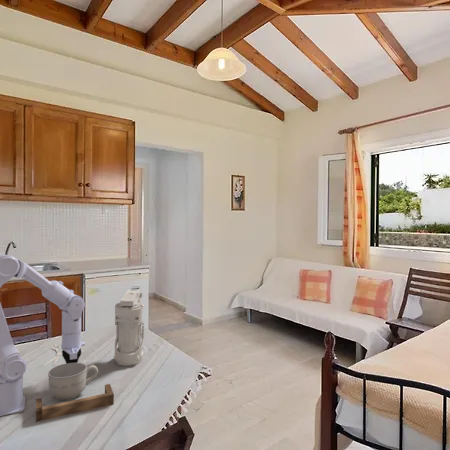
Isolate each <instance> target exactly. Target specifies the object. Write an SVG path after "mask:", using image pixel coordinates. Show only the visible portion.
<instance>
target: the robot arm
mask: <svg viewBox="0 0 450 450" xmlns="http://www.w3.org/2000/svg"><path fill="white" fill-rule="evenodd" d="M12 278H22V279H23V280H26V281H27V282H28V283H30V284H31V285H33V286H35V287H36V288H38V289H39V290H41V296H42V297H44V298H45V299H47V300H48V301H49V302H51V303H53V304H54V305H56V306H57V307H58V309H59V310H61V346H60V347H61V349H60V350H62V351H61V353H62V355H61V356H62V358H63V359H64V362H65V364H67V363H79V359H80V357H81V355H82V349H81V348H82V347H85V346H86V342H85V341H82V316H83V315H82V313H83V310H84V309H85V306H86V303H85V300H84V299H83V297H82V296H80V295H78V294H75V291H74V290H73V289H69V288H67V287H66V286H64V282H63V281H61V280H58V281H57V280H49V279H47V278H46V277H45V276H43V275H42V274H41V273H39V272H38V271H37V270H35V269H34V268H33V267H31V266H30V265H29V264H28V263H27V262H24V261H22V260H20V259H18V258H16V256H14V255H9V254H4V253H1V252H0V289H1V288H2V286H3V285H4V284H6V283H7V282H9V281H10V280H12ZM27 366H28V365H27V361H26V360H25V359H24V358H23V357H21V355H20V352H19V350H18V349H17V347H16V345H15V344H14V342H13V339H12V335H11V333H10V329H9V325H8V322H7V319H6V317H5V313H4V309H3V306H2V303H1V302H0V417H2V416H6V415H7V416H8V415H12V414H16V413H21V412H22V413H23V412H24V411H25V406H26V396H25V395H24V384H23V383H24V374H25V373H26V370H27Z"/></svg>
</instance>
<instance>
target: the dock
mask: <svg viewBox="0 0 450 450" xmlns="http://www.w3.org/2000/svg"><path fill="white" fill-rule="evenodd" d="M114 396H115V393H114V390H113V389H112V385H111V383H107V384H104V393H100V394H97V395H93V396H87V397H81V398H78V399H74V400H69V401H68V400H67V401H63V402H60V403H55V404H50V405H45V406H43V397H38V398H36V399H35V400H36V401H35V423H38V422H43V421H47V420H51V419H55V418H56V419H57V418H61V417H65V416H69V415H72V414H74V415H75V414H76V413H82V412H87V411H90V410H94V409H99V408H103V407H108V406H113V405H115V402H114V398H115V397H114Z"/></svg>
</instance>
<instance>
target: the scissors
mask: <svg viewBox="0 0 450 450" xmlns="http://www.w3.org/2000/svg"><path fill="white" fill-rule="evenodd" d="M51 349H52V350H53V351H55V353H56V355H55V356H54V357H53V358H51V359H50V360H48V361H46V363H44V364H43V365H42V367H45V366H46V365H47V364H49V363H51V362H52V361H54V362H53V366H55V365H56V363H57V362H58V360H59V359H60V357H61V356H62V352H60V351H59V350H62V349H61V346H60V345H57V344H56V343H54V344H53V346H52V347H51Z"/></svg>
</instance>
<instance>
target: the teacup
mask: <svg viewBox="0 0 450 450" xmlns="http://www.w3.org/2000/svg"><path fill="white" fill-rule="evenodd" d="M90 370H94V373H93V374H92V375H91V376H90V377H89V378H87V377H88V374H89V372H90ZM98 373H99V369H98V367H97V366H96V365H95V364H93V365H88V366H87V364H85V363H83V362H82V363H81V362H77V363H67V364H66V363H63V364H60V365H57V366H55V367H54V366H53V368H51V369H50V370H49V371H48V373H47V374H48V389H49V393H50V395H51V396H53V397H54V398H56V399H58V400H61V401H62V400H63V401H64V400H71V399H73V398H76V397H78V396H79V395H80V394H81V393H82V392H83V391H84V389H85V388H86V386H88V385H89V383H91V381H93V380H94V379H95V378H96V377H97V376H98Z"/></svg>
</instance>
